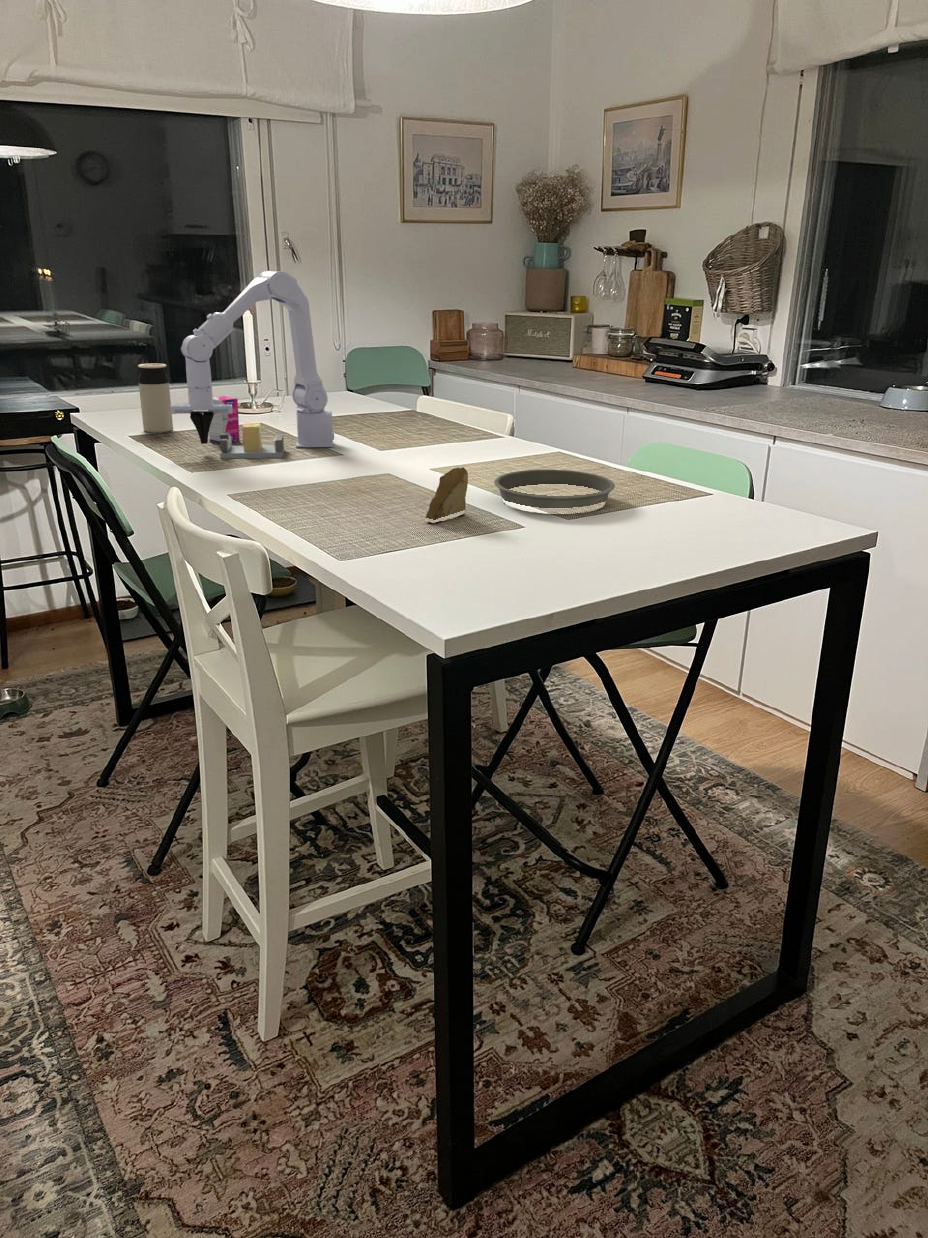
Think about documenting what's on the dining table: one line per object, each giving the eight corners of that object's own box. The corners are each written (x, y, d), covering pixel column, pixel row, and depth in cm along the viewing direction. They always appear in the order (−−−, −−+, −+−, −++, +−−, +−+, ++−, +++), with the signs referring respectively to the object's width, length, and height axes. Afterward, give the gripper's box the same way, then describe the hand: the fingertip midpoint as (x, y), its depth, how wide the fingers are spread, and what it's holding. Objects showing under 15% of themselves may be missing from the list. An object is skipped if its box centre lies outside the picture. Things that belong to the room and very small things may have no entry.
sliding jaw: (231, 444, 242) (230, 430, 241) (228, 451, 234) (227, 436, 233) (223, 444, 242) (222, 430, 241) (219, 451, 234) (218, 437, 232)
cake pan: (474, 494, 203) (475, 473, 201) (575, 485, 212) (577, 465, 211) (526, 523, 182) (527, 499, 180) (636, 511, 191) (638, 489, 190)
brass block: (261, 446, 242) (260, 422, 240) (260, 451, 237) (258, 426, 234) (245, 446, 242) (244, 422, 239) (243, 451, 236) (242, 426, 234)
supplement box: (223, 444, 251) (220, 399, 247) (209, 441, 254) (205, 397, 250) (240, 441, 255) (237, 397, 251) (226, 438, 259) (223, 395, 255)
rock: (434, 517, 175) (482, 504, 179) (417, 475, 177) (465, 463, 180) (419, 539, 185) (464, 526, 189) (403, 499, 186) (449, 487, 190)
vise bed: (284, 449, 245) (283, 433, 244) (282, 457, 236) (281, 440, 234) (224, 450, 243) (222, 433, 242) (220, 458, 234) (218, 441, 232)
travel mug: (179, 430, 270) (173, 364, 264) (157, 433, 264) (150, 366, 257) (160, 427, 274) (153, 362, 268) (137, 430, 268) (130, 364, 261)
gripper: (166, 389, 227) (171, 446, 232) (228, 388, 229) (232, 445, 234) (170, 385, 234) (176, 440, 239) (231, 385, 236) (235, 440, 241)
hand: (204, 442), depth 237 cm, fingers closed
